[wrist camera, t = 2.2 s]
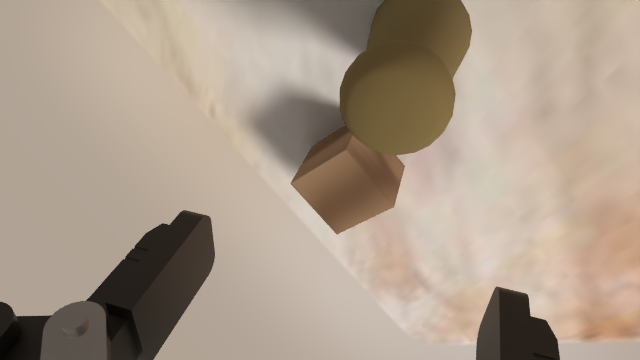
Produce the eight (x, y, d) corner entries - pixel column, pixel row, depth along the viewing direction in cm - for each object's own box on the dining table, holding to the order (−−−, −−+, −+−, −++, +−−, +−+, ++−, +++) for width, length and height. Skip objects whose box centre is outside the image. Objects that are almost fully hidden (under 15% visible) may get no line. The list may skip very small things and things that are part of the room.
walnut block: (312, 146, 36) (290, 183, 32) (362, 113, 33) (345, 149, 29) (353, 193, 37) (336, 234, 33) (404, 165, 34) (393, 206, 31)
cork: (393, 94, 31) (357, 188, 23) (354, 9, 29) (297, 78, 20) (485, 61, 29) (483, 155, 20) (451, -36, 26) (431, 22, 18)
